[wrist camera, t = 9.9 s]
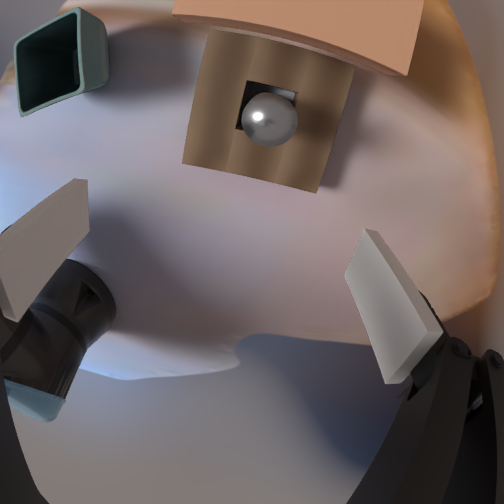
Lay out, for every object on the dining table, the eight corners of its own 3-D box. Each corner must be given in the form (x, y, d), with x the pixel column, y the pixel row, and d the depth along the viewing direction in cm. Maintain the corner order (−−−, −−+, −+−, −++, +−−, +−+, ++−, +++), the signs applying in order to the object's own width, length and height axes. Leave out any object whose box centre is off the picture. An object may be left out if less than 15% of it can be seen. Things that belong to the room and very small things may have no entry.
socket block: (188, 156, 30) (181, 163, 28) (214, 34, 23) (210, 29, 20) (311, 184, 32) (316, 193, 29) (347, 67, 24) (356, 66, 22)
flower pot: (127, 87, 26) (84, 92, 18) (66, 105, 26) (18, 118, 19) (122, 19, 21) (80, 4, 14) (61, 43, 22) (13, 42, 14)
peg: (244, 120, 28) (236, 139, 18) (252, 88, 26) (248, 88, 16) (278, 128, 28) (289, 152, 18) (287, 96, 27) (304, 102, 16)
